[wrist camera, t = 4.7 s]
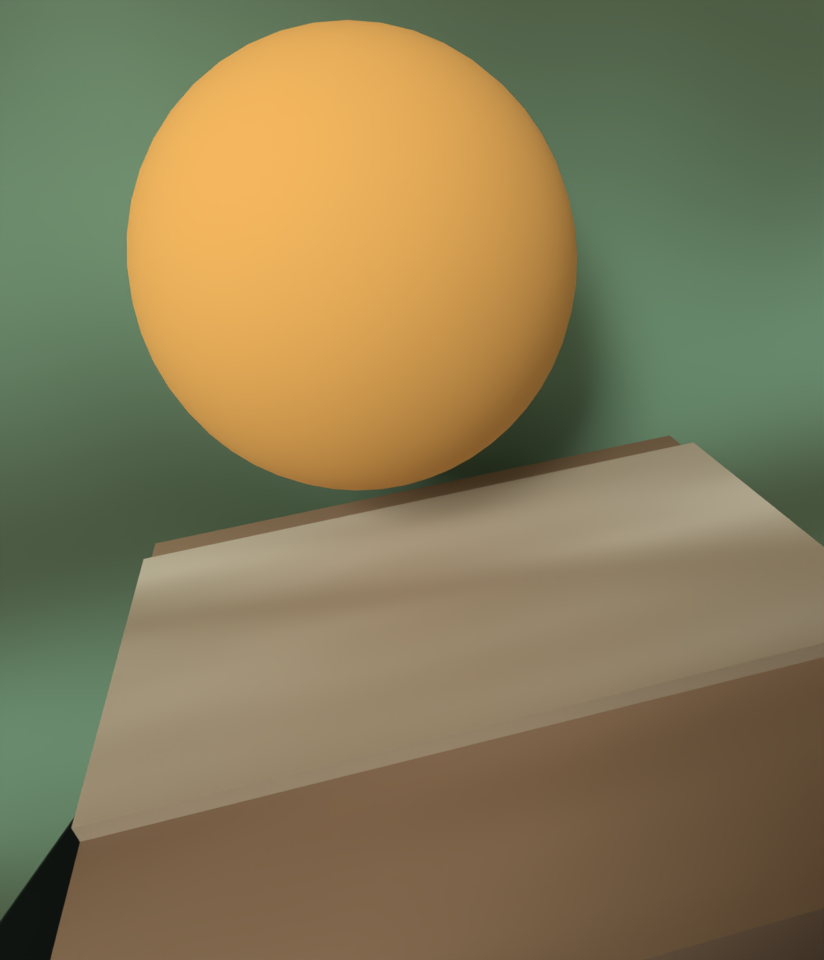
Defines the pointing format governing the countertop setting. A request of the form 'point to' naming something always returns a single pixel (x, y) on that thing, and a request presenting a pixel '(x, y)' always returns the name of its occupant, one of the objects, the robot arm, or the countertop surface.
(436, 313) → the ball
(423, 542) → the block
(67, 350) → the board
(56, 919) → the robot arm
